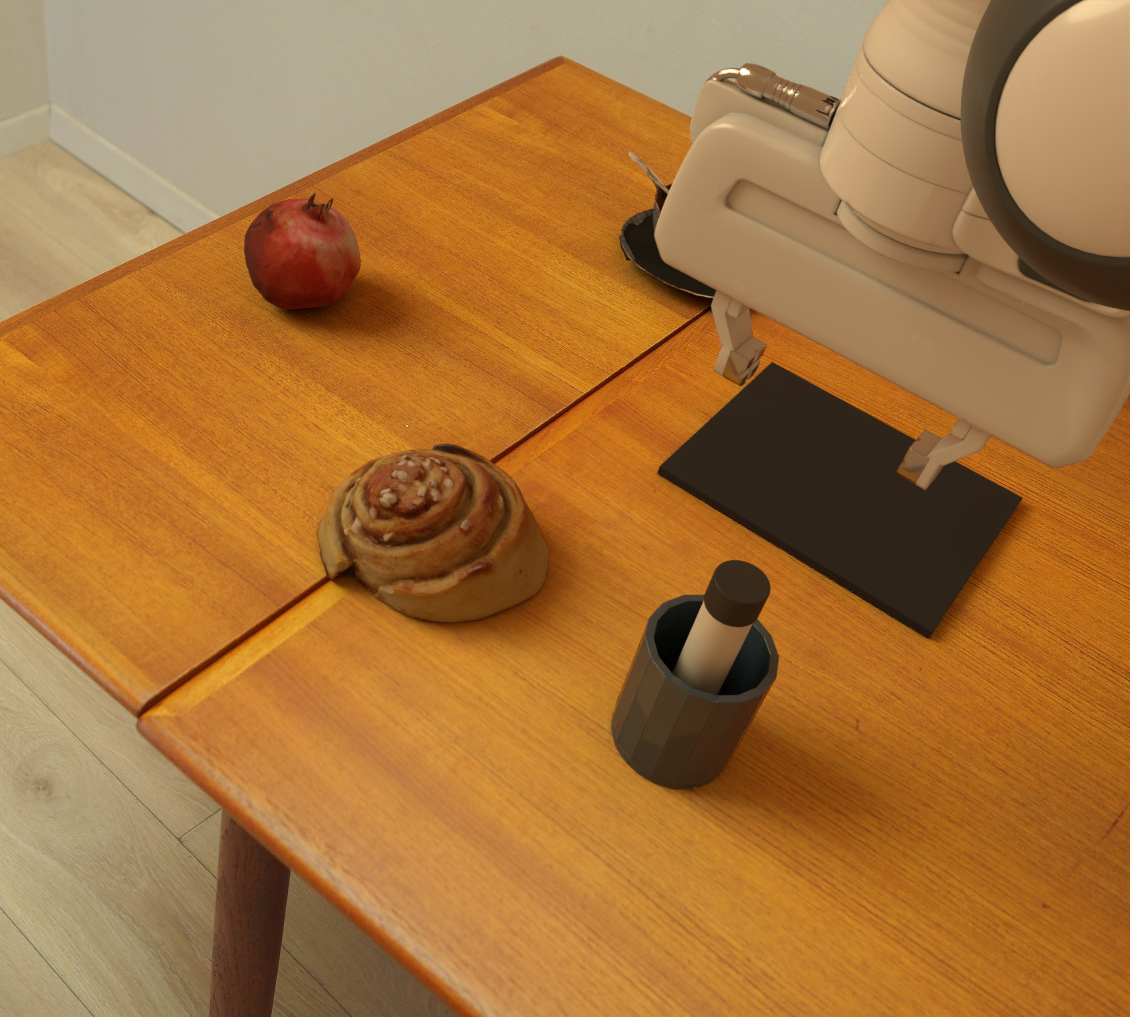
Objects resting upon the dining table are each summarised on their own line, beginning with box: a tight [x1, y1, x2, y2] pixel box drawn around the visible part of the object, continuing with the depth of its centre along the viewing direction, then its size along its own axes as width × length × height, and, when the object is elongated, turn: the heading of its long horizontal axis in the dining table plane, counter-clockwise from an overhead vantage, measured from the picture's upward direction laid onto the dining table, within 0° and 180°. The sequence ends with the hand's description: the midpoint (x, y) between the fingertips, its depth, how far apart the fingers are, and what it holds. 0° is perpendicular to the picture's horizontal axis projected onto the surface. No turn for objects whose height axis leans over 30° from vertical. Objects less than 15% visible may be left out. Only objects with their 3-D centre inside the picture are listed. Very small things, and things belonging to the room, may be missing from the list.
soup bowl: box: [618, 150, 716, 299], centre depth 104 cm, size 15×16×7 cm
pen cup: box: [610, 594, 780, 790], centre depth 67 cm, size 7×7×9 cm
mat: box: [656, 361, 1023, 639], centre depth 87 cm, size 22×18×1 cm
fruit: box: [243, 192, 362, 310], centre depth 92 cm, size 9×10×10 cm
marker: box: [672, 559, 772, 695], centre depth 65 cm, size 3×3×14 cm
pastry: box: [315, 443, 550, 623], centre depth 75 cm, size 13×15×8 cm
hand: (821, 423), depth 53 cm, fingers open, 8 cm apart
